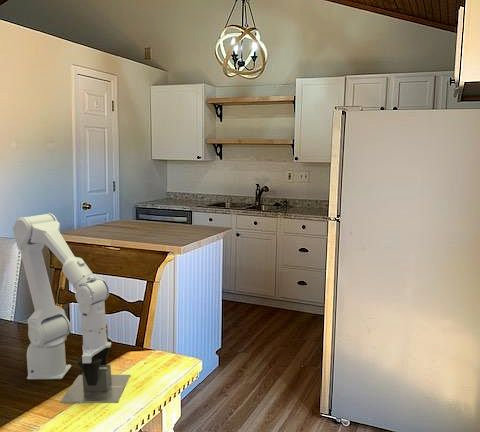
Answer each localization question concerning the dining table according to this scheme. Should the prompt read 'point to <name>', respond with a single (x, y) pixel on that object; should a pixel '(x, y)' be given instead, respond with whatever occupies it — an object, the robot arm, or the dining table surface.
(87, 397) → the grey flat square slab
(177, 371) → the dining table surface
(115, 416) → the dining table surface
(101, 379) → the striped grey block
